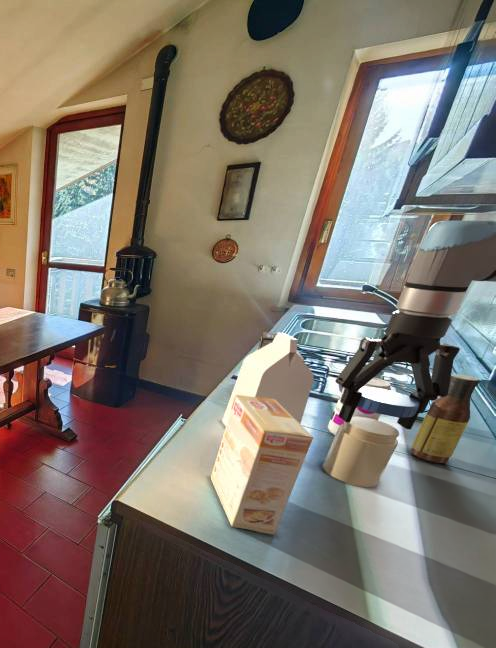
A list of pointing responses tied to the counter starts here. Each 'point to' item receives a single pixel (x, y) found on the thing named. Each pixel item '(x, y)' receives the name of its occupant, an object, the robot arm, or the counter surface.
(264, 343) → the coffee box
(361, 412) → the supplement can
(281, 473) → the coffeecake box
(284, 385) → the milk
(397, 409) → the lid
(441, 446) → the sauce bottle
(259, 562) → the counter surface
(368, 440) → the jar
